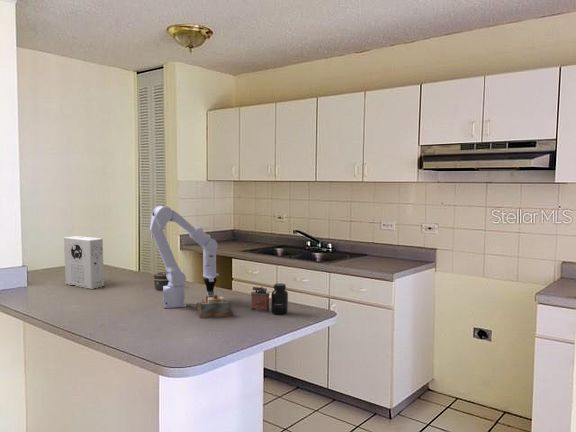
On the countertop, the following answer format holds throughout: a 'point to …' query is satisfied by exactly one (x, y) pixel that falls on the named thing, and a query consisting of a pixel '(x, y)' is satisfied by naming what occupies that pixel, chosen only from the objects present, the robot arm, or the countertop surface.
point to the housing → (215, 299)
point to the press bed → (214, 309)
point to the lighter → (260, 300)
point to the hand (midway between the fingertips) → (210, 294)
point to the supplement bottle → (279, 300)
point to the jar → (160, 280)
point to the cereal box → (84, 261)
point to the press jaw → (210, 295)
